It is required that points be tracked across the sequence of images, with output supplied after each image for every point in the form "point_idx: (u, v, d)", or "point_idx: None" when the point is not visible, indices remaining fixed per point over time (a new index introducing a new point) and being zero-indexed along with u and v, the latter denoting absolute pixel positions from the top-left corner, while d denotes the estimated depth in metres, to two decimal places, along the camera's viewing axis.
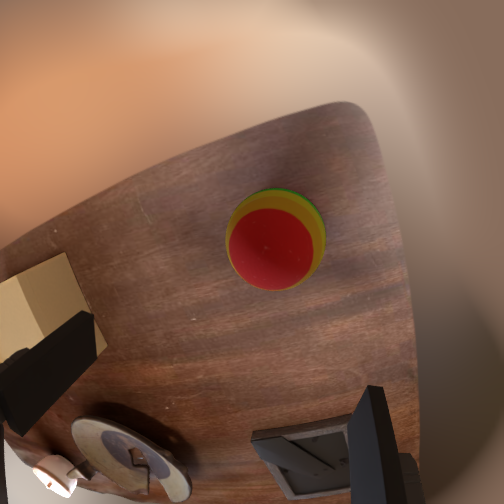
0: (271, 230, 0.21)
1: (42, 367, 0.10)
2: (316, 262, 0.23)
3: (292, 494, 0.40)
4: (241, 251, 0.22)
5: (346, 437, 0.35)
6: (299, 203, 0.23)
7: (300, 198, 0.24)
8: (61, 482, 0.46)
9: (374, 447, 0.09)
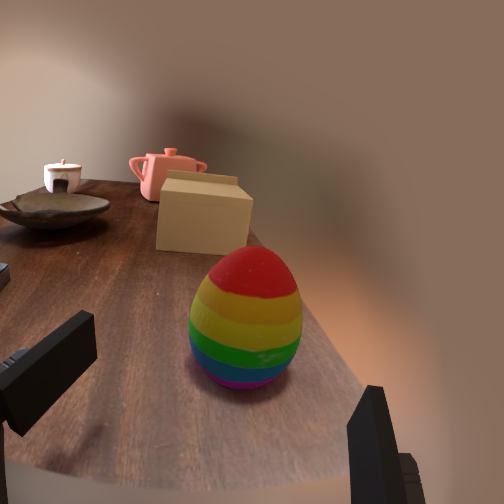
0: (283, 264, 0.21)
1: (42, 367, 0.10)
2: (228, 307, 0.19)
3: None
4: None
5: None
6: (294, 321, 0.20)
7: (295, 334, 0.21)
8: (60, 170, 0.68)
9: (374, 447, 0.09)
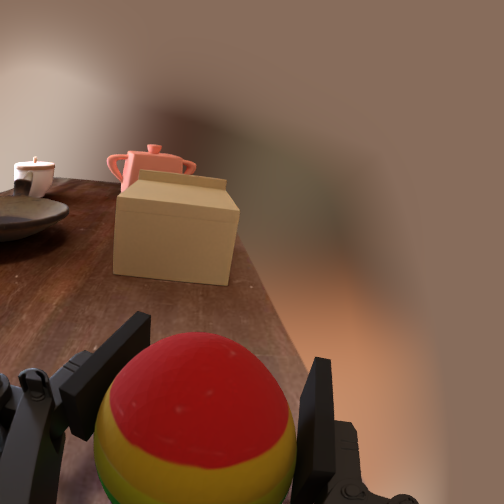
0: (261, 382, 0.09)
1: (108, 369, 0.11)
2: (137, 472, 0.07)
3: None
4: None
5: None
6: (278, 485, 0.08)
7: (279, 499, 0.09)
8: (29, 169, 0.56)
9: (312, 411, 0.11)
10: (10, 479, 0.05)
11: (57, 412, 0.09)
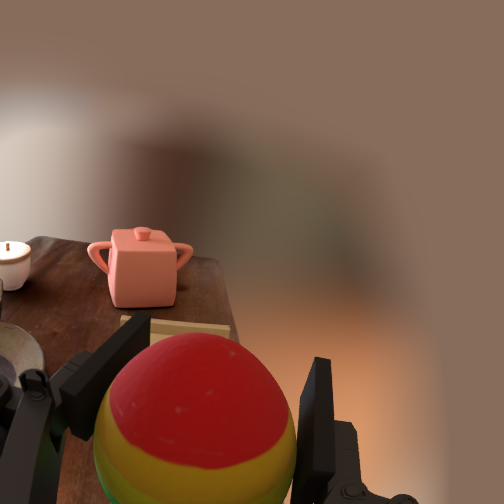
0: (260, 382, 0.09)
1: (108, 369, 0.11)
2: (137, 473, 0.07)
3: None
4: None
5: None
6: (278, 485, 0.08)
7: (279, 499, 0.09)
8: (0, 263, 0.47)
9: (312, 411, 0.11)
10: (10, 479, 0.05)
11: (57, 412, 0.09)
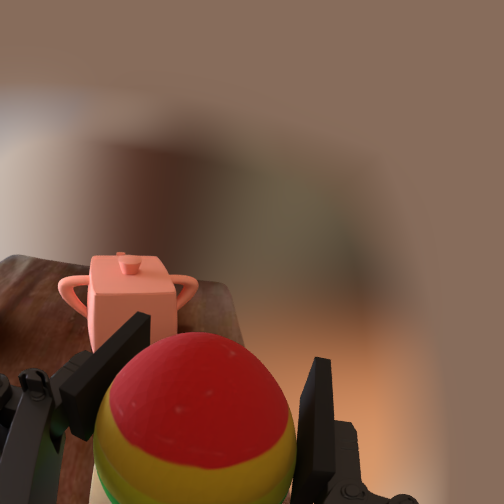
0: (260, 382, 0.09)
1: (109, 369, 0.11)
2: (137, 473, 0.07)
3: None
4: None
5: None
6: (278, 485, 0.08)
7: (279, 499, 0.09)
8: None
9: (312, 411, 0.11)
10: (10, 479, 0.05)
11: (57, 412, 0.09)
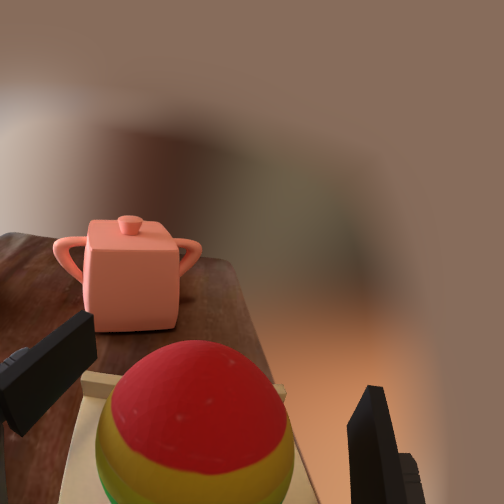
0: (259, 390, 0.09)
1: (42, 367, 0.10)
2: (139, 478, 0.07)
3: None
4: None
5: None
6: (276, 489, 0.08)
7: (277, 503, 0.09)
8: None
9: (374, 447, 0.09)
10: None
11: None
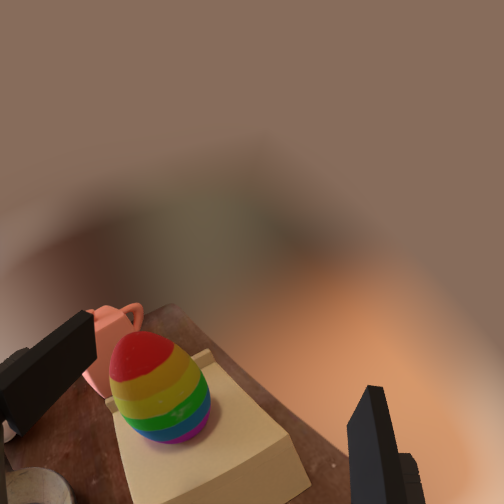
0: (151, 338, 0.23)
1: (42, 367, 0.10)
2: (128, 392, 0.21)
3: None
4: None
5: None
6: (183, 375, 0.23)
7: (192, 384, 0.23)
8: None
9: (374, 447, 0.09)
10: None
11: None
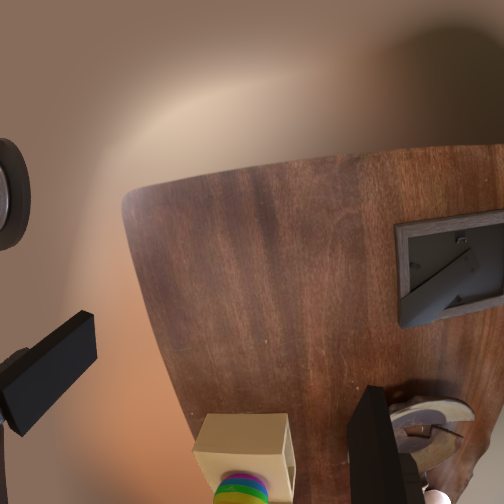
0: None
1: (42, 367, 0.10)
2: None
3: (500, 297, 0.34)
4: None
5: (419, 234, 0.34)
6: (217, 501, 0.35)
7: (217, 496, 0.36)
8: None
9: (374, 447, 0.09)
10: None
11: None
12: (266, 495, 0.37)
